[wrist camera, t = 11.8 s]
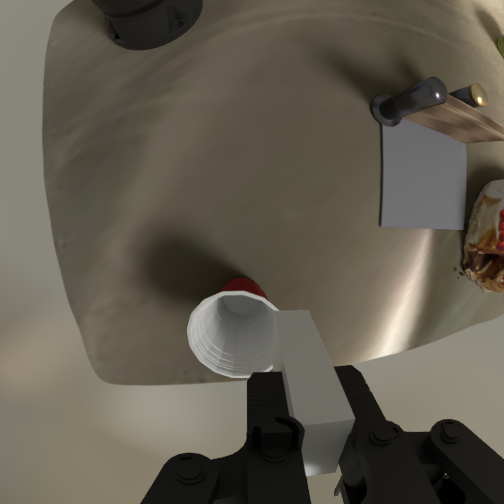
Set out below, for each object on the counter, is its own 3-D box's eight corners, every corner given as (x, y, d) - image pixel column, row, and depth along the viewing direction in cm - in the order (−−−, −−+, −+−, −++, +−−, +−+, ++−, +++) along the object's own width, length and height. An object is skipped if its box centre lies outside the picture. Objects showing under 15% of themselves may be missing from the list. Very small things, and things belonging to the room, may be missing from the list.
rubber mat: (380, 109, 34) (381, 109, 33) (463, 130, 34) (465, 129, 34) (380, 226, 38) (381, 226, 38) (462, 229, 38) (463, 230, 38)
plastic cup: (204, 254, 39) (187, 285, 27) (284, 264, 39) (299, 298, 27) (199, 324, 41) (184, 373, 30) (271, 333, 42) (279, 384, 30)
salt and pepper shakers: (369, 81, 33) (413, 49, 20) (443, 100, 33) (495, 84, 20) (372, 124, 34) (421, 105, 22) (446, 139, 35) (502, 133, 22)
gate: (400, 118, 33) (444, 103, 23) (400, 109, 33) (444, 92, 22) (464, 144, 34) (510, 141, 23) (464, 136, 34) (510, 131, 23)
